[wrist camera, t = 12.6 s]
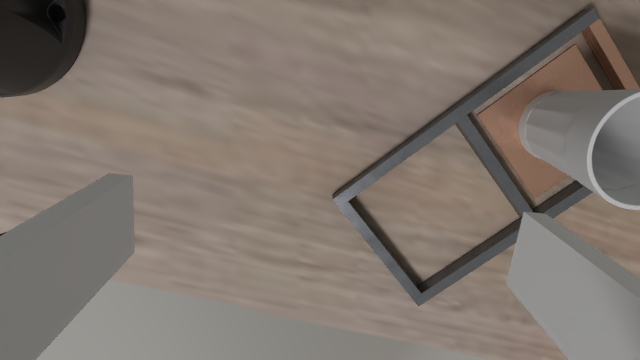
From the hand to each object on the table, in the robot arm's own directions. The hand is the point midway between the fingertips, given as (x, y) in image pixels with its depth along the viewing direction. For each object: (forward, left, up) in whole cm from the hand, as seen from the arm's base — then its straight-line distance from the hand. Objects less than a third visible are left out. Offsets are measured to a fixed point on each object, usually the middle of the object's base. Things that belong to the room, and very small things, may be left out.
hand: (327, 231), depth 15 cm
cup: (+13, +16, -26) cm, 33 cm away
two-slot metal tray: (+13, +10, -26) cm, 31 cm away
